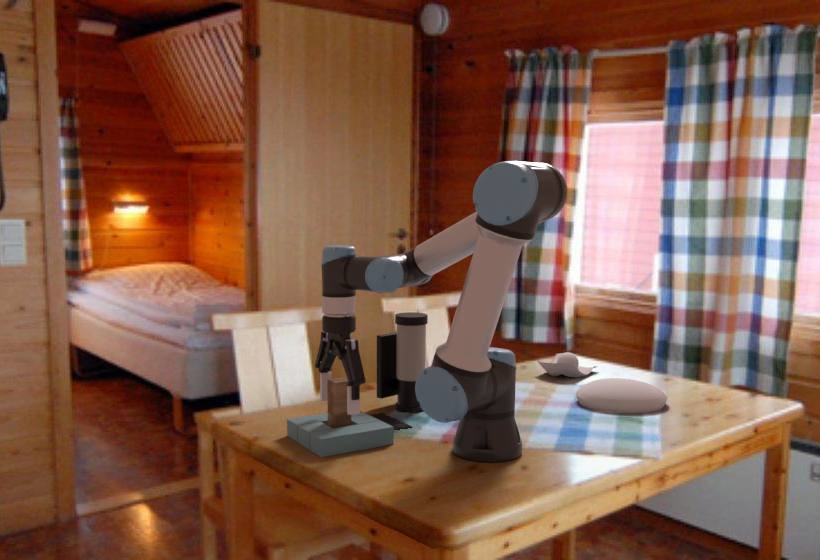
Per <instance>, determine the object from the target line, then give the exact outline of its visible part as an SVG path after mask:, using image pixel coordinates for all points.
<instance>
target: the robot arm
mask: <svg viewBox="0 0 820 560" xmlns="http://www.w3.org/2000/svg"><path fill="white" fill-rule="evenodd" d="M567 198H568V185H567V182H566V179H565V178H564V175H563V174H562V173H561V172H560V170H558V169H557V168H556V167H554V166H553V165H552V164H549V163H545V162H538V161H537V162H535V161H534V162H531V161H519V160H515V159H514V160H513V159H512V160H506V161H500V162H496V163H493V164H492V165H490V166H488V167H487V168H485V169H484V170H483V171H482V172H481V174H479V176H478V178H477V179H476V182H475V184H474V187H473V192H472V200H473V201H472V202H473V204H474V206H475V208H474V209H475V212H474V213H471V214H470V215H468V216H466V217H464V218H463V219H461V220H460V221H458V222H456V223H453V224H452V225H451V226H449V227H447V228H446V229H445V228H444V230H442V231H440V232H438V233H437V234H435V235H433V236H432V237H430V238H428V239H426V240H425V241H423V242H421V243H419V244H417V245H416V246H414V247H413V248H411V249H409V250H407V251H405V252H404V253H399V254H397V253H396V254H391V255H389V254H388V255H381V256H380V255H379V256H359V255H357V253H356V252H357V251H356V247H355V246H353V245H346V244H345V245H341V244H340V245H338V244H337V245H335V244H334V245H326V246H325V247H324V248H323V249H322V250H321V251H322V252H321V253H322V254H321V255H322V256H321V263H320V265H321V283H322V284H321V287H322V289H321V291H322V292H321V293H322V295H321V313H322V314H323V316H322V318H321V321H322V322H321V324H322V325H321V329H322V331H320V341H319V347H318V350H317V355H316V359H315V364H314V367H315V369H318V372H319V380H320V382H319V388H320V389H319V390H320V394H319V397H320V398H319V399H320V402H326V401H327V402H328V390H327V379H333V372H332V371H333V368H332V367H333V365H334V362H335V360H336V358H338V360H339V361H341V364H342V367H343V369H344V372H345V376H346V379H348V381H349V382H348V384H347V414H348V415H351V414H358V413H360V411H361V406H360V404H361V403H360V401H361V397H360V394H361V393H360V389H361V388H360V387H361V385H362V384H363V385H364V384H365V383H366V376H365V371H364V367H363V363H362V358H361V354H360V351H359V349H360V348H359V339H357V338H356V339H351V334H352V333H355V331H356V330H357V325H356V324H357V322H356V321H357V318H356V315H355V313H356V303H357V298H356V292H357V291H365V292H373V293H377V294H393V293H395V292H397V290H398V289H400V288H407V287H418V286H421V285H424V284H426V283H428V282H430V280H431V279H432V278H433V276H434V275H435V274H438V273H440V272H441V271H443V270H445V269H447V268H448V267H451V266H452V265H454V264H456V263H458V262H460V261H462V260H463V259H466V258H467V257H469V256H470V255H471V256H472V257H471V261H470V263H469V267H468V270H467V273H466V277H465V279H464V283H463V287H462V290H461V293H460V296H459V300H458V303H457V306H456V310H455V312H454V316H453V319H452V322H451V325H450V329H449V332H448V336H447V338H446V342H444V343H442V344H440V345H438V346H437V347H436V349H435V352H434V354H433V355H434V356H433V358H432V361H431V365H430V366H428V367H426V369H424V370H423V371H422V372H421V373H420V374H419V376H418V377H417V380H416V384H415V393H416V397H417V400H418V401H419V403H420V407H421V408H422V410H423V411H422V412H424V414H426V415H427V417H429V418H430V419H431V420H434V421H435V422H438V423H445V424H447V423H451V422H458V425H457V428H456V432H455V435H454V436H453V440H452V452H453V453H454V454H455V455H456V456H458V457H460V458H463V459H466V460H470V461H473V462H474V461H475V462H485V463H494V462H495V463H496V462H497V463H498V462H506V461H511V460H514V459H517V458H519V457H521V456H522V454H523V441H522V438H521V435H520V432H519V431H520V430H519V429H518V425H517V422H516V418H515V417H516V416H515V415H516V378H517V377H516V375H517V365H516V354H515V353H514V352H513V351H512V350H510V349H505V348H499V347H493V346H492V347H490V346H491V344H492V340H493V338H494V334H495V331H496V329H497V325H498V323H499V320H500V316H501V312H502V311H503V310H502V309H503V307H504V304H505V301H506V298H507V295H508V292H509V290H510V289H509V288H510V285H511V281H512V279H513V276H514V273H515V270H516V267H517V263H518V260H519V258H520V256H521V255H520V254H521V251H522V248H523V246H524V245H526V244H529V243H530V242H532V241H533V240H534V237H535V233H536V231H537V228H538V225H540V224H541V223H543V222H544V223H545V222H546V221H549V220H551V219H554V218H555V217H556V216H557V215H558V214H560V212H561V211H562V209H563V208H564V207H565V204H566V202H567Z"/></svg>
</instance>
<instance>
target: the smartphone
mask: <svg viewBox="0 0 820 560" xmlns="http://www.w3.org/2000/svg"><path fill="white" fill-rule="evenodd" d="M369 415H370V416H372V417H374V418H376V419H378V420H380V421H383V422H385V423H387V424H389V425H391V426H393V427H394V430H399V431H401V430H400V429H405V430H409V429H408V428H410V429H413V426H412V425H410V424H408V423H406V422H404V421H402V420H400V419H397V418H395V417H392V416H390V415H388V414H386V413H384V412H377V413H372V414H369Z"/></svg>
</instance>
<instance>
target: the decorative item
mask: <svg viewBox="0 0 820 560" xmlns="http://www.w3.org/2000/svg"><path fill="white" fill-rule="evenodd" d="M575 395H576V398H577V402H578V403H579V404H580V406H582V407H584V406H585V407H584V408H587V409H590V410H595V411H600V412H606V413H615V414H617V413H618V414H645V413H652V412H657V411H660V410H662V409H663V408H664V407H665V405H666V403H667V401H668V397H667V395H666V394H665V392H663V390H662V389H660V388H659V387H657V386H655V385H653V384H651V383H647V382H644V381H640V380H636V379H630V378H622V377H620V378H619V377H606V378H599V379H595V380H591V381H589V382H586V383H585V384H583V385H582V386H580V387H579V389H577V390H576V393H575Z"/></svg>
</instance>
